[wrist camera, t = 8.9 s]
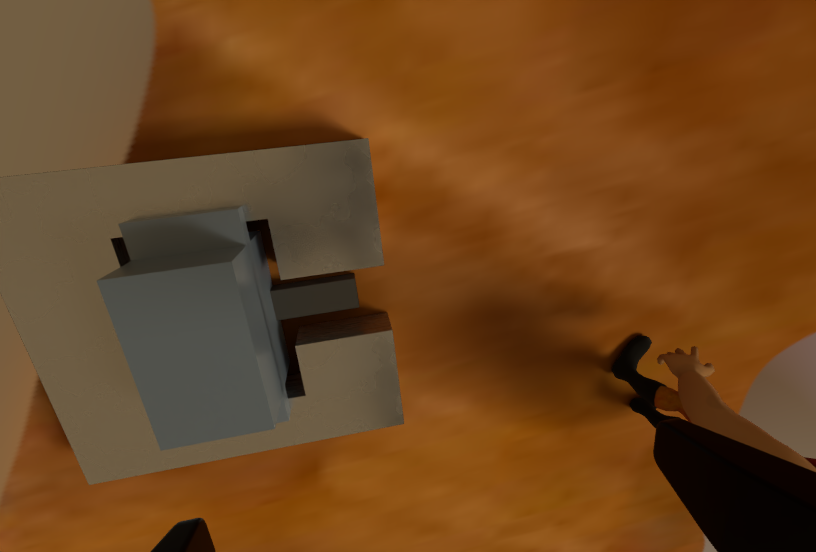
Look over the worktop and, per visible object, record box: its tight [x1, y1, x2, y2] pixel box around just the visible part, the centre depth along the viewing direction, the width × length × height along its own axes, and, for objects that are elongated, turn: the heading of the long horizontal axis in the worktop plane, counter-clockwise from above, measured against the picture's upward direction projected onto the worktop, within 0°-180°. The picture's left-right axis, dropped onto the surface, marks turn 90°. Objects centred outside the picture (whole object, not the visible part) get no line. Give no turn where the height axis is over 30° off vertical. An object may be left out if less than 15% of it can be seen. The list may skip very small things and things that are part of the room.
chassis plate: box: [0, 138, 404, 485], centre depth 17 cm, size 14×13×2 cm
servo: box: [97, 206, 359, 451], centre depth 16 cm, size 8×9×5 cm
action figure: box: [612, 336, 816, 472], centre depth 16 cm, size 10×4×15 cm, turn 33°
